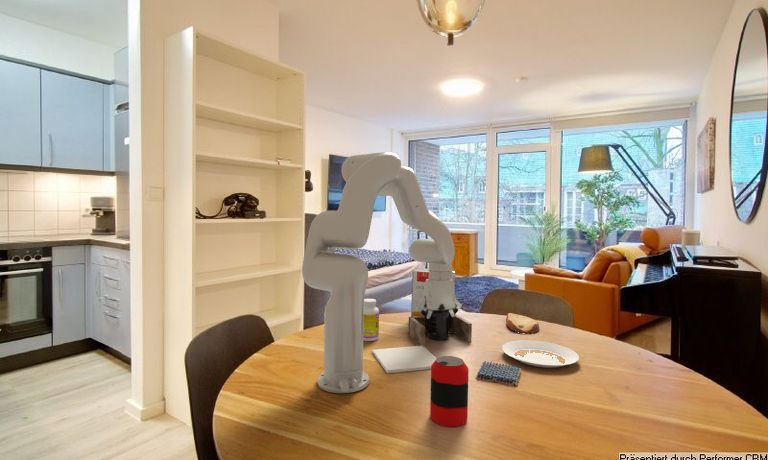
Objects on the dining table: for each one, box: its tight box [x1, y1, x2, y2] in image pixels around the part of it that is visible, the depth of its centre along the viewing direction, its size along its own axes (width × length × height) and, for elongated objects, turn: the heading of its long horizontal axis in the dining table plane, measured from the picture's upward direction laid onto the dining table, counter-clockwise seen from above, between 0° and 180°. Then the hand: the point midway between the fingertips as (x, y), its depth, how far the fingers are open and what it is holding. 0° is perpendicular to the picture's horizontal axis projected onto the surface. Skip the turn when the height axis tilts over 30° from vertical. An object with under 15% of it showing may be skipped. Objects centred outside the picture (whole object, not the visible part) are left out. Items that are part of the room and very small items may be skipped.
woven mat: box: [475, 360, 522, 387], centre depth 106 cm, size 10×11×2 cm
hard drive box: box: [410, 268, 456, 317], centre depth 154 cm, size 16×8×20 cm, turn 73°
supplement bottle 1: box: [363, 298, 380, 342], centre depth 134 cm, size 7×7×13 cm
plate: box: [501, 339, 580, 369], centre depth 119 cm, size 21×21×2 cm
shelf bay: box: [408, 313, 473, 347], centre depth 136 cm, size 12×17×6 cm
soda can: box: [429, 355, 470, 428], centre depth 84 cm, size 8×8×12 cm
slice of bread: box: [505, 312, 540, 334], centre depth 152 cm, size 18×18×4 cm
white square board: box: [371, 345, 438, 374], centre depth 116 cm, size 16×16×1 cm
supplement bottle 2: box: [428, 304, 450, 341], centre depth 136 cm, size 7×7×12 cm
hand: (438, 328), depth 136 cm, fingers closed on supplement bottle 2, 6 cm apart
